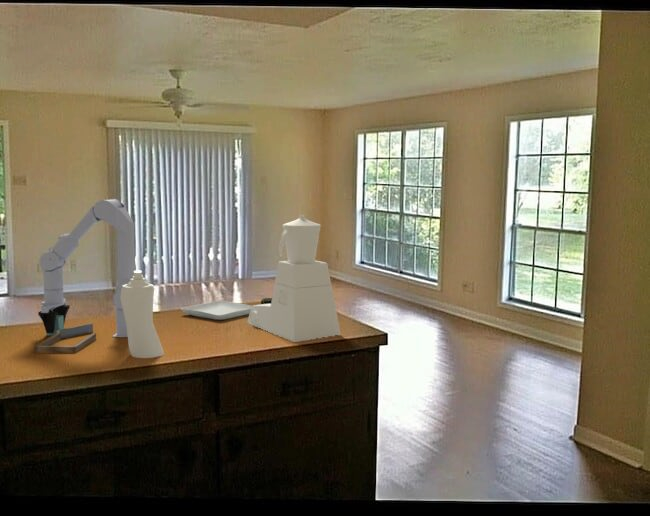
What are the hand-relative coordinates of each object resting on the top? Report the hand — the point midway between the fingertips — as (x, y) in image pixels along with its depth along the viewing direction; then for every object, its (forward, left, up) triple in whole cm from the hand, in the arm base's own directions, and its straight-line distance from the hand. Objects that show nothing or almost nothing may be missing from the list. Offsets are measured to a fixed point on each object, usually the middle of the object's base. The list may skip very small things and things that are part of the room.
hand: (55, 330), depth 205 cm
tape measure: (-69, -44, -1) cm, 82 cm away
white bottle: (-36, +25, -2) cm, 44 cm away
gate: (-4, +7, -1) cm, 8 cm away
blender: (-76, -8, -2) cm, 77 cm away
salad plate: (-48, -33, -2) cm, 58 cm away
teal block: (0, 0, -2) cm, 2 cm away
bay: (-10, +16, -1) cm, 19 cm away
